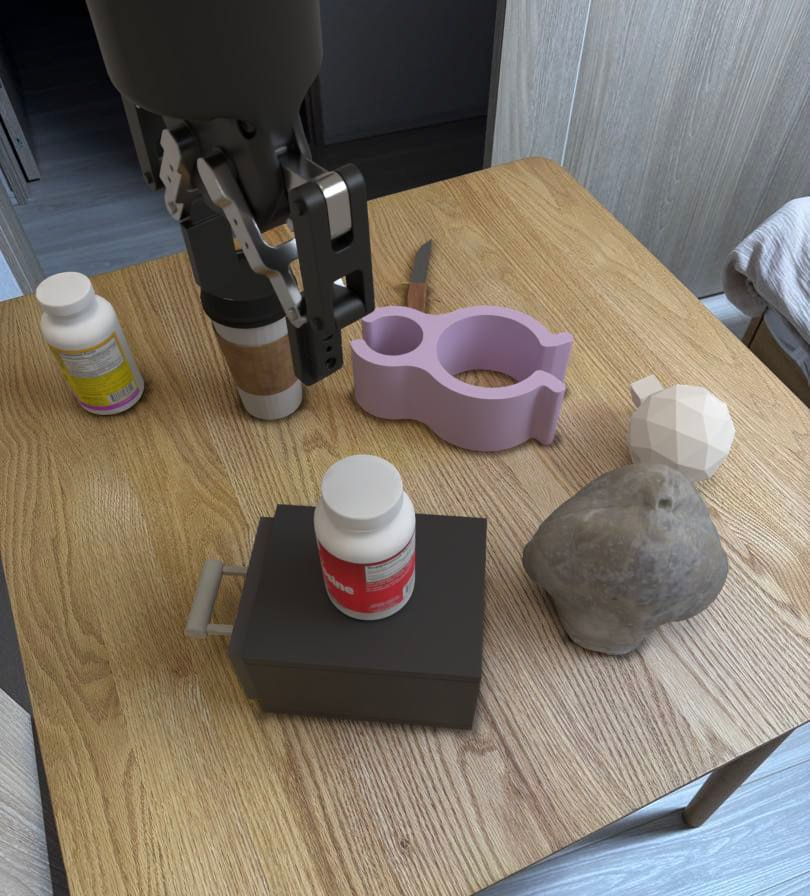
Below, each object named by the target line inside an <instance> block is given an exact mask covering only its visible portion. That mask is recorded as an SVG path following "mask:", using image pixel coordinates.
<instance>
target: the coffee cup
mask: <svg viewBox="0 0 810 896" xmlns="http://www.w3.org/2000/svg"><path fill="white" fill-rule="evenodd" d="M235 250H236V254H237V259H238V264H239V269H240V274H239V277H238V279H237V280H236V281H234V282H233V283H231V284H228V285H226V286H224V287H222V288H220V289H218V290H216V291H214V292H212V293H207V292H205V291H204V290H203V289H201V288H200V287H199V288H200V293H199V299H200V303H201V307H202V310H203V311H204V313H205V315H206V316H207V317H208V318H209V319H210V320H211V327H212V330H213V333H214V336H215V338H216V340H217V343H218V345H219V347H220V350H221V353H222V355H223V357H224V360H225V362H226V365H227V367H228V369H229V373H230V374H231V377H232V379H233V382H234V383H235V387H236V390H237V391H238V395H239V397H240V399H241V403H242V405H243V407H244V409H245V411H246V412H247V413H248V414H250V415H251V416H253V417H254V418H257V419H260V420H264V421H276V420H280V419H283V418H286V417H288V416H290V415H291V414H293V413H294V412H295V411H296V410H298V408H299V407H300V405H301V403H302V400H303V387H302V382H301V381H300V380H299V379H298V378H297V377H296V376H295V375H294V369H293V363H292V357H291V350H290V344H289V338H288V331H287V325H286V319H285V317H286V313H285V311H284V309H283V307H282V305H281V303H280V300H279V298H278V296H277V294H276V292H275V290H274V288H273V286H272V284H271V281H270V279H269V278H268V277H267V276H265V275H259V274H257V273H255V272H254V271H253V270H252V268H251V266H250V264H249V262H248V260H247V258H246V256H245V254H244V252H243V250H242V248H238V249H235ZM290 272H291V274H292V276H293V278H294V280H295V282H296V285H297V287H298V288H299V283H298V279H297V277H296V275H295V274H294V272H293V269H292V267H291V265H290Z"/></svg>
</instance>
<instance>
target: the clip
mask: <svg viewBox="0 0 810 896" xmlns="http://www.w3.org/2000/svg"><path fill="white" fill-rule="evenodd" d="M360 322H361V333H362V334H361V335H362V338H357V339H353V340H351V342H350V354H351V363H352V376H353V390H354V397H355V401H356V403H357V404H358V405H359V406H360V408H361V409H362V410H364V411H365V412H366V413H368V414H369V415H372V416H373V417H377V418H379V419H385V420H393V421H394V420H414V421H418V422H420V423H422V424H424V425H426V426H427V427H428V428H429V429H430V430H431V431H432V432H433V433H434V434H435V435H436V436H438V437H439V438H440V439H442V440H443V441H445V442H446V443H449V444H451V445H453V446H455V447H457V448H461V449H464V450H467V451H475V452H483V453H484V452H487V453H489V452H499V451H503V450H504V451H505V450H508V449H512V448H514V447H518V446H520V445H521V444H524V443H525V442H527V441H528V440H530V439H535V440H536V441H538V442H539V443H540V444H541V445H543V446H548V445H551V444H552V443H553V442H554V440H555V435H556V431H557V427H558V422H559V418H560V413H561V410H562V405H563V400H564V397H565V393H566V388H567V385H566V384H565V379H566V375H567V370H568V365H569V362H570V357H571V352H572V348H573V344H574V340H575V337H574V336H573V334H572V333H571V332H570V331H569V332H568V331H562V332H560V333H559V332H558V333H551V332H550V331H549V330H548V329H547V327H545V325H544V324H543V323H541V322H540V321H538V320H537V319H536V318H534V317H532V316H531V315H529V314H526V313H525V312H522V311H519V310H517V309H514V308H510V307H505V306H500V305H489V304H486V305H485V304H484V305H482V304H481V305H473V306H467V307H461V308H459V309H456V310H453V311H450V312H447V313H442V314H430V313H426V312H425V313H423V312H420V311H418V310H415V309H412V308H408V307H407V306H403V305H402V306H401V305H387V306H381V307H377V308H375V310H374V312H372V313H370V314H369V315H367V316H365V317H363V318H361V319H360ZM476 370H484V371H485V370H486V371H487V370H488V371H494V372H498V373H502V374H504V375H507V376H509V377H511V378H513V379H514V380H516V381H517V383H514V384H511V385H507V386H500V387H485V386H484V387H483V386H478V385H474V384H470V383H466V382H465V381H462V380H460V379H458V378H456V377H454V376H456V375H458V374H461V373H464V372H469V371H476Z"/></svg>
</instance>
